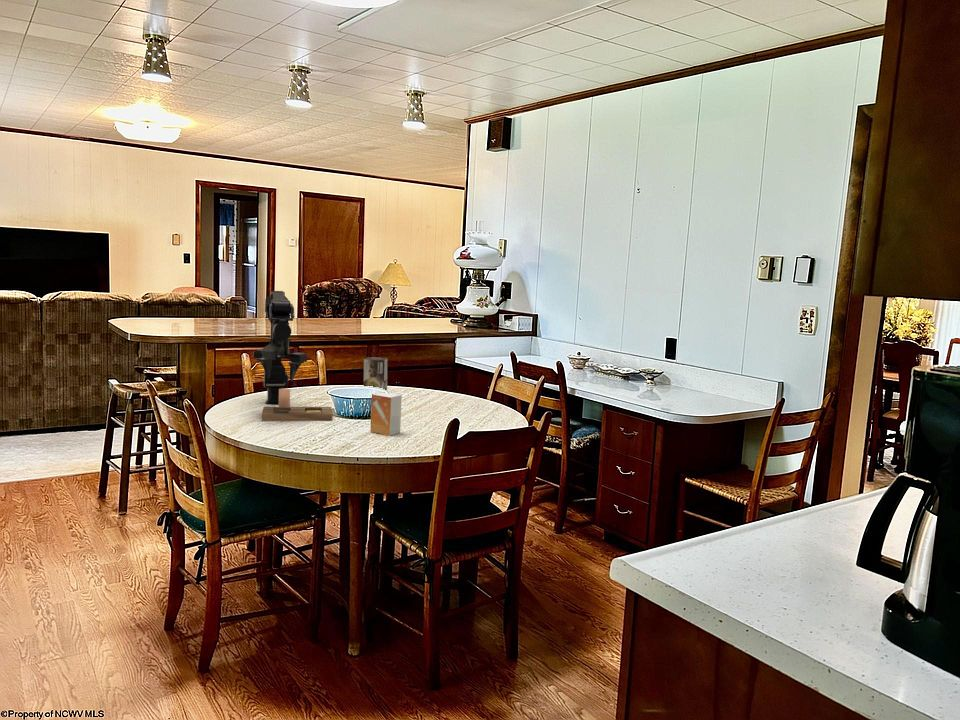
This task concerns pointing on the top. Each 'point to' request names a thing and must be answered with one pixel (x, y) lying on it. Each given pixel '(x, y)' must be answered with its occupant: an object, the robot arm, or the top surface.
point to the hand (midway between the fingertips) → (279, 379)
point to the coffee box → (375, 372)
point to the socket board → (297, 414)
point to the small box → (386, 413)
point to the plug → (284, 397)
